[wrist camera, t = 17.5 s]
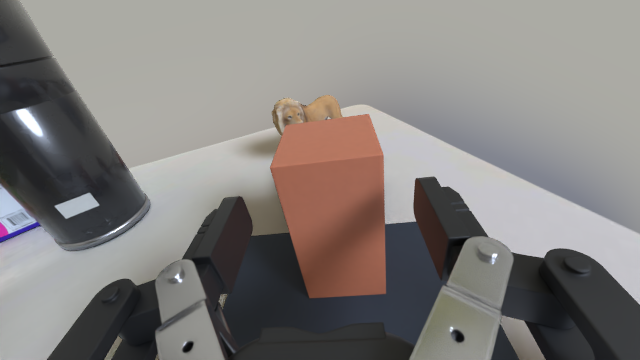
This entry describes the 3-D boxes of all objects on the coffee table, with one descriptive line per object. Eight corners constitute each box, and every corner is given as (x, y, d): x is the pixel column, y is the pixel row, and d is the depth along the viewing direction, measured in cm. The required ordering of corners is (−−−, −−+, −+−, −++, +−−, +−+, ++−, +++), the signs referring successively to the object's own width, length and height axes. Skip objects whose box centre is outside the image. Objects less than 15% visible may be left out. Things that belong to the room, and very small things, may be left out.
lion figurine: (306, 173, 33) (291, 105, 28) (275, 167, 36) (256, 103, 31) (355, 128, 43) (350, 71, 38) (327, 125, 46) (320, 72, 41)
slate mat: (188, 415, 14) (185, 413, 14) (249, 239, 25) (248, 236, 25) (543, 412, 12) (546, 409, 12) (443, 222, 23) (443, 219, 23)
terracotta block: (309, 298, 18) (269, 167, 12) (313, 241, 23) (285, 124, 17) (386, 294, 18) (383, 154, 12) (374, 236, 22) (369, 113, 16)
